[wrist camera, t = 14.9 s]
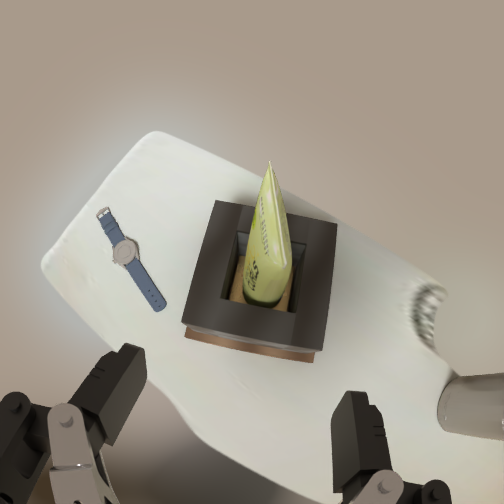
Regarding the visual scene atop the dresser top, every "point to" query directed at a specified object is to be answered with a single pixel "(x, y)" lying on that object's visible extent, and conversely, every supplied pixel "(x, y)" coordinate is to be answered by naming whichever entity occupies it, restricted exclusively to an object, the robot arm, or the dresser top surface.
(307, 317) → the socket
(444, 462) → the dresser top surface
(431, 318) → the dresser top surface
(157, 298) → the wristwatch
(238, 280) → the tan sandy square tile
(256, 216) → the tube
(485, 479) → the dresser top surface
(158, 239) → the dresser top surface
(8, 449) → the robot arm
